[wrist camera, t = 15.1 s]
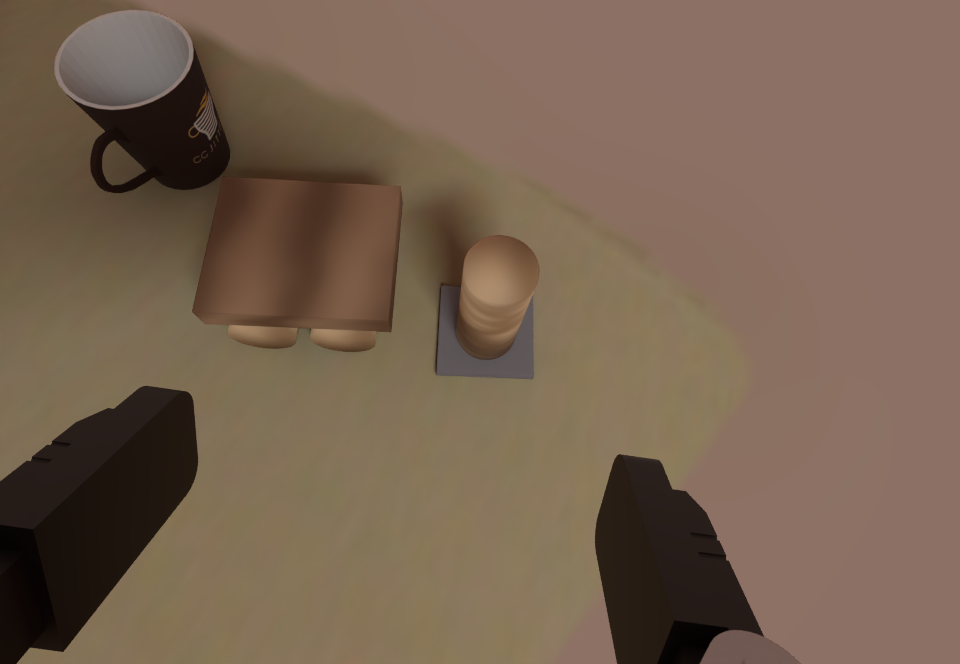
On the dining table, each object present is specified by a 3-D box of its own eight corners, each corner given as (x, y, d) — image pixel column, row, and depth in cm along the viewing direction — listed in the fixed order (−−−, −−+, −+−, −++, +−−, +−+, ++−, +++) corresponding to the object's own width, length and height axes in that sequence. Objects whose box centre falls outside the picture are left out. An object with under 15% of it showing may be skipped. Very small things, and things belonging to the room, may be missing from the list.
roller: (455, 359, 40) (463, 302, 31) (456, 303, 42) (463, 233, 33) (515, 360, 41) (541, 305, 31) (514, 305, 42) (538, 237, 33)
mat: (436, 375, 40) (436, 373, 40) (441, 287, 43) (441, 285, 43) (532, 379, 41) (533, 377, 40) (531, 292, 43) (532, 289, 43)
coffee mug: (190, 99, 48) (129, -9, 39) (266, 149, 47) (221, 50, 37) (81, 189, 44) (-16, 94, 35) (160, 247, 43) (80, 163, 33)
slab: (229, 346, 40) (191, 311, 34) (253, 226, 44) (222, 176, 38) (396, 353, 41) (388, 320, 35) (406, 234, 44) (400, 186, 38)
